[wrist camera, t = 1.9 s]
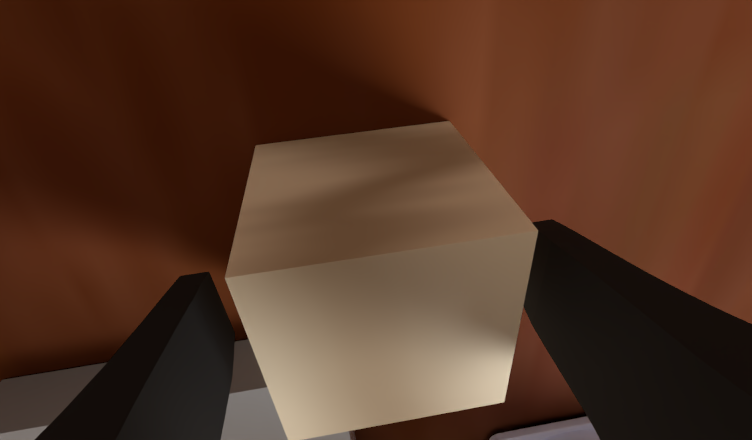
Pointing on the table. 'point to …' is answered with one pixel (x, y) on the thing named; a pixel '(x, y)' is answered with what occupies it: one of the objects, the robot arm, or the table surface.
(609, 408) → the robot arm
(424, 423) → the table surface
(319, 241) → the maple cube
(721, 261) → the table surface
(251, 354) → the plate
